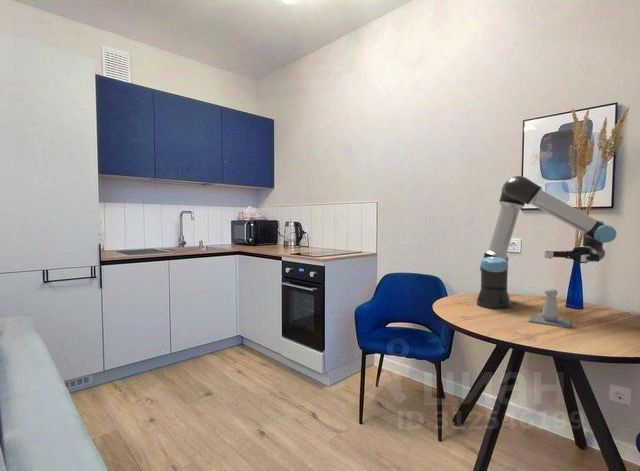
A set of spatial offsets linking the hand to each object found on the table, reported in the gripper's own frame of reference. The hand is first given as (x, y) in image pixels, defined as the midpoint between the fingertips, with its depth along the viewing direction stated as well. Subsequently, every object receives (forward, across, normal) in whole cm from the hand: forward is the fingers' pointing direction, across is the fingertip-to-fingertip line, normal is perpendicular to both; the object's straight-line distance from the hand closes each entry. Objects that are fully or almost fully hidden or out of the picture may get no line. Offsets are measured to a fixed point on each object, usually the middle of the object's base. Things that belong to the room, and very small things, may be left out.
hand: (563, 256), depth 146 cm
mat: (+10, 0, -26) cm, 28 cm away
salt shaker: (+10, 0, -26) cm, 28 cm away
